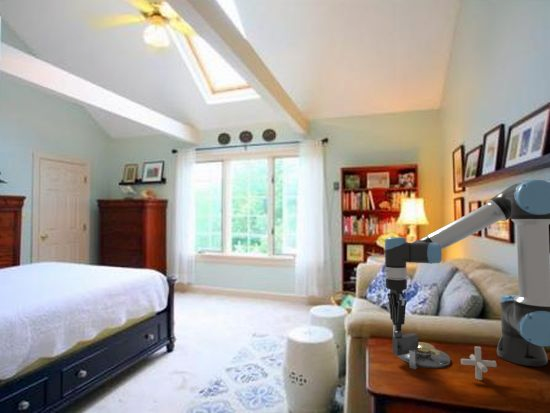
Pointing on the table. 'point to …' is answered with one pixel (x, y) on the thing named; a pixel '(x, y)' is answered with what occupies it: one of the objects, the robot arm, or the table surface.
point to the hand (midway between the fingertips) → (397, 341)
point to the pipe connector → (478, 363)
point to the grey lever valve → (410, 344)
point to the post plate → (425, 359)
